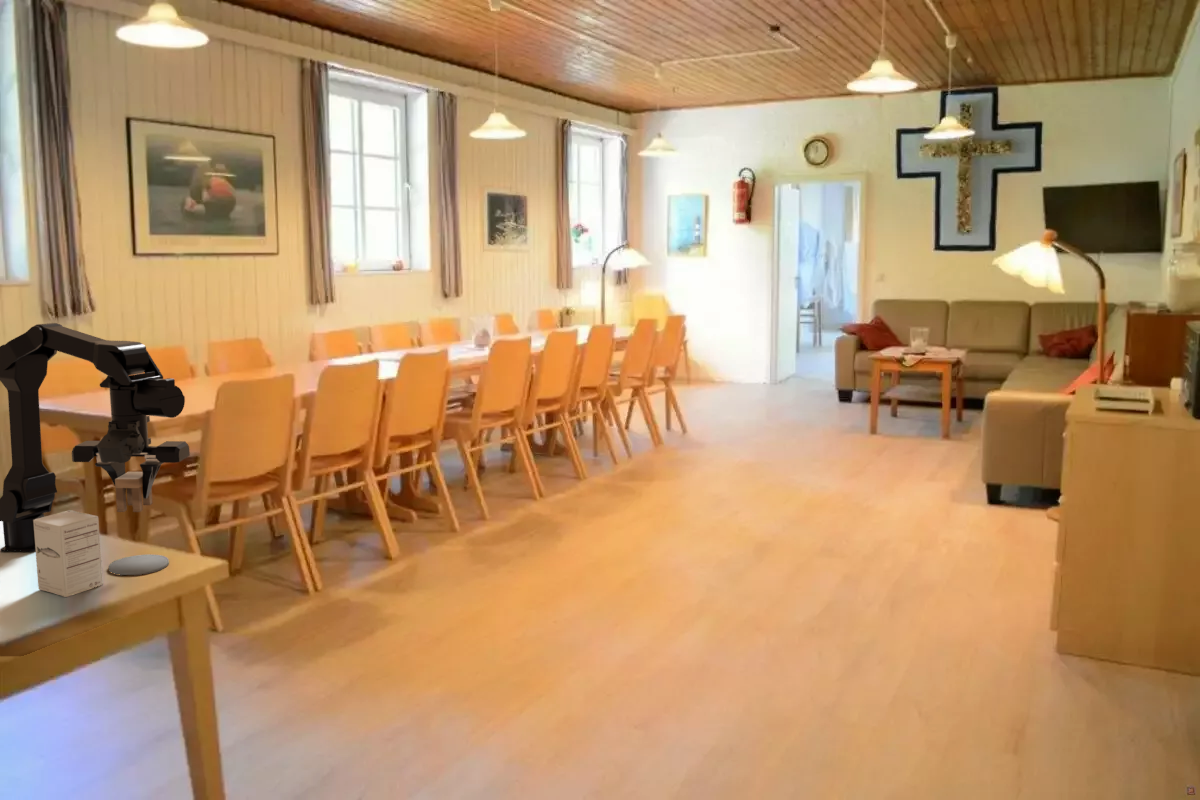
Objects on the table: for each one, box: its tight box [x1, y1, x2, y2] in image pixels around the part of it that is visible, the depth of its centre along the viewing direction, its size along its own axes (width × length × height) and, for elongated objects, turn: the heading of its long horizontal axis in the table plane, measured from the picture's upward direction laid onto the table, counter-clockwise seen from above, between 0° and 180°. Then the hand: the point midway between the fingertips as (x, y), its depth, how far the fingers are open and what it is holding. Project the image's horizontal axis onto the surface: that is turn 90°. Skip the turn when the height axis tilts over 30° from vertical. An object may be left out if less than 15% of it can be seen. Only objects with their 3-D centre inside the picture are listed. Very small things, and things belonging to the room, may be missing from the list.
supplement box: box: [33, 509, 103, 598], centre depth 171 cm, size 7×7×13 cm
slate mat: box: [108, 553, 170, 576], centre depth 183 cm, size 10×10×1 cm
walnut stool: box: [114, 471, 154, 513], centre depth 181 cm, size 6×4×6 cm
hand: (134, 498), depth 181 cm, fingers closed on walnut stool, 4 cm apart
